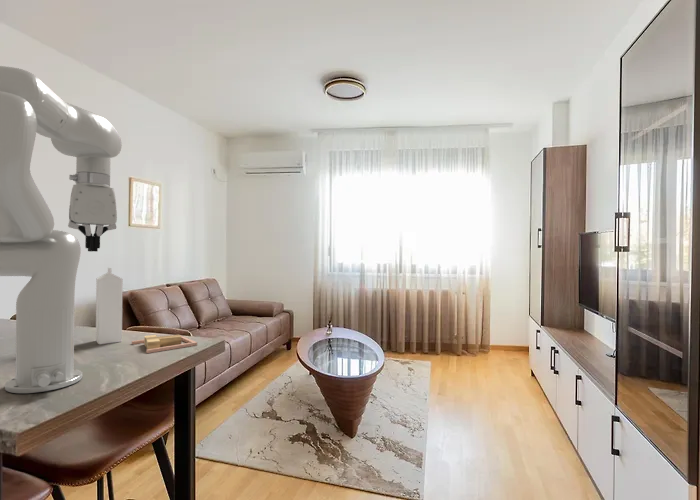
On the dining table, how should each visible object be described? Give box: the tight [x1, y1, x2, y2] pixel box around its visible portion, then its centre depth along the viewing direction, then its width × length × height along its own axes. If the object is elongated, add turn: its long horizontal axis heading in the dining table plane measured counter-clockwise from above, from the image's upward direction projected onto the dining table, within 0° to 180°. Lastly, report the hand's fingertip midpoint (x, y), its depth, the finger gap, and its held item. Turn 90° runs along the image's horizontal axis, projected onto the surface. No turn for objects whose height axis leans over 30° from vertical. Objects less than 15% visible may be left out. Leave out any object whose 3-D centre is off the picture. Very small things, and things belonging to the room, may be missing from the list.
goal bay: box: [131, 334, 198, 354], centre depth 115 cm, size 14×14×1 cm
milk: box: [95, 266, 124, 345], centre depth 118 cm, size 6×6×22 cm
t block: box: [143, 334, 182, 350], centre depth 114 cm, size 9×9×2 cm
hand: (92, 251), depth 104 cm, fingers closed
